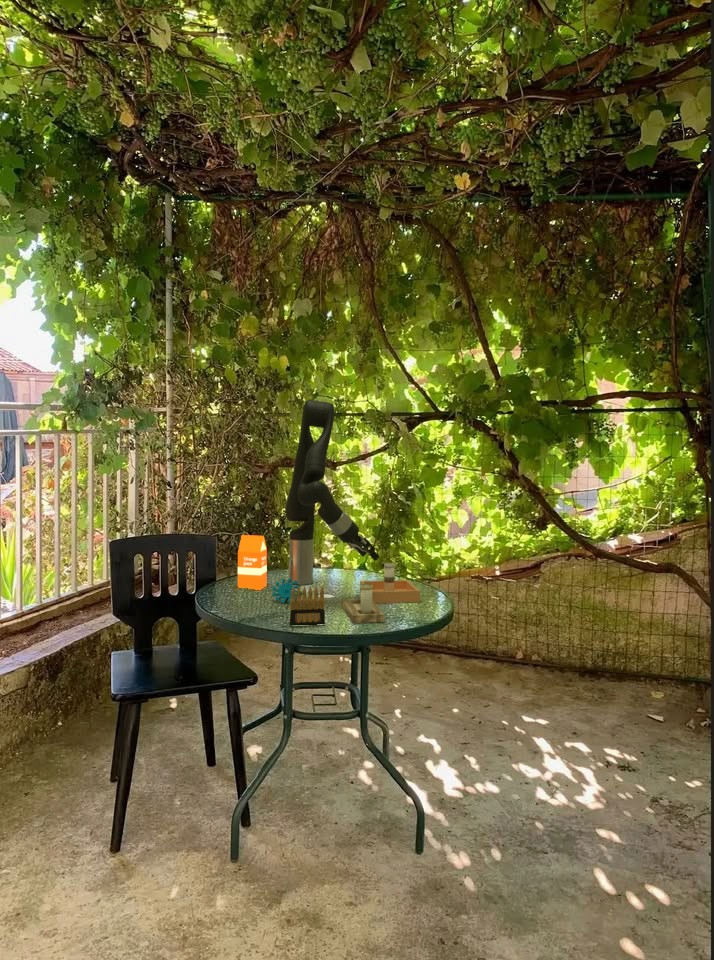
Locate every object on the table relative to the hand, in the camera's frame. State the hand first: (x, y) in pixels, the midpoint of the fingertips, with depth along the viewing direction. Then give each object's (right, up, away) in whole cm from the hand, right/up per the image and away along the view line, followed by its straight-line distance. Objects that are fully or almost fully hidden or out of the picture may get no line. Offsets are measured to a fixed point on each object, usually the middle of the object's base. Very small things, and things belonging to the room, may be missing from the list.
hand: (370, 556), depth 247 cm
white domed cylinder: (+7, -14, +5) cm, 16 cm away
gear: (-29, -15, -4) cm, 33 cm away
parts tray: (+7, -15, +5) cm, 17 cm away
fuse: (-2, -17, -26) cm, 31 cm away
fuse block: (-3, -16, -20) cm, 26 cm away
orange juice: (-44, -14, +15) cm, 48 cm away
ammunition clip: (-20, -17, -34) cm, 43 cm away
